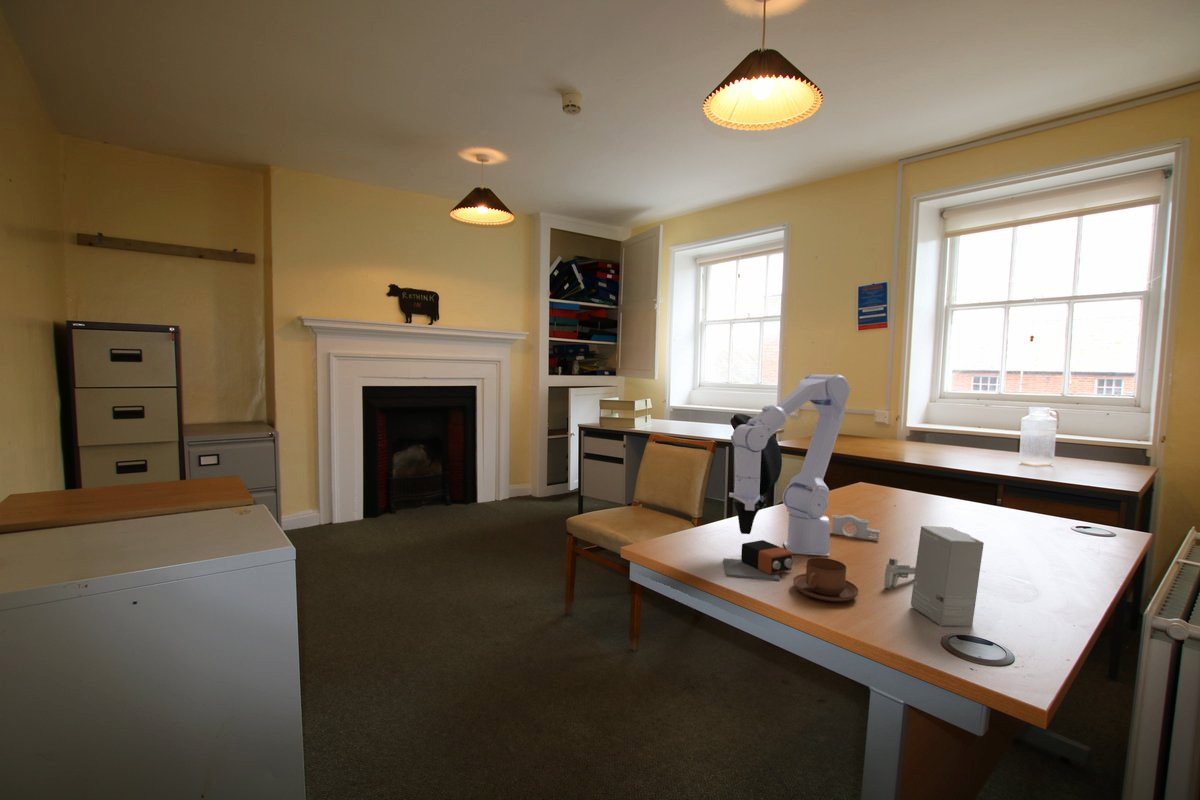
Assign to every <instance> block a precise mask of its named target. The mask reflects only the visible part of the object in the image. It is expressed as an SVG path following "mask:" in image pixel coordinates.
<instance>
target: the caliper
mask: <svg viewBox="0 0 1200 800" xmlns="http://www.w3.org/2000/svg"><path fill="white" fill-rule="evenodd" d="M898 562H899V560H898V559H896V558H890V557H889V560H888V563H886V566H885V567H886V568H885V572H884V584H883V587H884V588H885V589H887V590H891V588H892V589H895V588H896V587H897V584H898V581H899V578H902V579H904V578H905V579H908V577H909V575H915V569H916V565H909V564H906V563H898Z"/></svg>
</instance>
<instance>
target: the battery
mask: <svg viewBox="0 0 1200 800" xmlns="http://www.w3.org/2000/svg"><path fill="white" fill-rule="evenodd" d="M740 556H741V557H740V559H741V561H742V562H744V563H746V564H748V565H750V566H752V567H754V568H756V569H759V570H761V571H763V572H765V573H767V574H769V575H771V574H776V573H778V574H779V573H785V572H786V573H787V572H790V571H792V567H794V560H793V553H792V552H791V551H789V550H787V549H786V548H784V547H781V546H778V545H776V544H773V543H771V542H770V541H767V540H763V539H762V540H755V541H749V542H744V543H742V544H741V555H740Z"/></svg>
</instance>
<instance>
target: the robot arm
mask: <svg viewBox="0 0 1200 800" xmlns="http://www.w3.org/2000/svg"><path fill="white" fill-rule="evenodd" d="M850 391H851V388H850V385H849V383H848V380H847V379H846V377H845V376H843V374H816V373H809V374H807V375H805V377H804V378H802V379H800V380H799V382H798V386H796V387H795V388H794V389H793V390H792V391H791V392H790V393H789V394H788V395H787V396H785V398H783V399H782V400H781V401H780V402H779V403H778V404H776V405H768V406H767V405H765V406H764V407H762V409H761V410H762V411H760V412H759V413H757V414H756V415H755V416H754V417H752V418H749V419H748V421H747V423H746V424H744V423H743V424H739V425H737V426H736V428H735V429H734V430H733V433H732V435H730V441H731V443H732V445H733V447H734V453H735V465H734V492H728V493H729V494H728V497H729V498H734V499H736V500H737V501H736V500H735V501H733V505H734V507H735V510H736V514H737V518H738V525H739V532H740V534H741V535H751V533H752V529H753V523H754V521H755V518H756V515H757V513H759V510H760V508H761V507H760V504H759V501H760V500H761V495H760V487H761V485H760V484H761V468H762V467H761V464H762V463H761V462H762V450H764V449H765V448H766V446H767V444H768V441H769V439H771V436H773V435H774V434H775V433H776V432H778V430H780V429H781V428H782V427H784V426H785V425H786V423H787V417H788V416H790V415H791V414H793V412H795V411H797V410H798V409H800V408H801V407H802V406H804V405H805V404H806V403H809V402H810V404H811V405H812V406H813V407H814V408H815V409H816V410H817V412H818V415H819V416H818V417H817V418H818V419H817V421H816V425H815V427H814V430H813V433H812V436H811V440H810V442H809V445H808V449H807V452H806V454H805V457H804V461H803V463H802V468H801V470H800V472H799V473H797V474H796V475H794V476H793V477H792V478H790V480H789V484H788V485H787V486H786V487H785V489H784V490H783V493H782V502H783V504H784V506H785V507H786V512H788V521H787V522H788V523H787V524H788V525H787V541H783V542H782V543H783V545H784V547H785V549H786V550H789V551H791V552H792V555H793V554H795V555H807V556H808V555H810V556H821V557H822V556H825V557H830V555H831V554H830V542H831V541H830V539H831V538H830V537H831V535H830V534H831V526H830V525H831V524H830V519H829V517H828V516H827V515H824V514H825V512H827V509H828V505H829V499H828V498H829V493H830V488H829V487H828V486H827V484H826V483H825V482H824V477H825V475H826V472H827V469H828V466H829V463H830V460H831V457H832V454H833V450H834V447H835V444H836V442H837V438H838V435H839V433H840V430H841V426H842V423H843V420H844V417H845V412H846V405H847V401H848V398H849V394H850Z"/></svg>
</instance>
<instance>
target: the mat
mask: <svg viewBox="0 0 1200 800" xmlns="http://www.w3.org/2000/svg"><path fill="white" fill-rule="evenodd" d="M723 563H724V564H723V565H724V570H725V575H726V577H728V578H729V577H730V578H738V579H740V578H742V579H752V580H753V579H754V580H755V579H756V580H762V581H763V580H766V581H767V580H768V581H778V582H780V581H781V578H780V575H779V573H776V574H771V575H769V574H767V573H765V572H763V571H761V570H759V569H756V568H754V567H752V566H750V565H748V564H746V563H744V562H742V561H741V558H740V559H738V558H726V557H724V558H723Z"/></svg>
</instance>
